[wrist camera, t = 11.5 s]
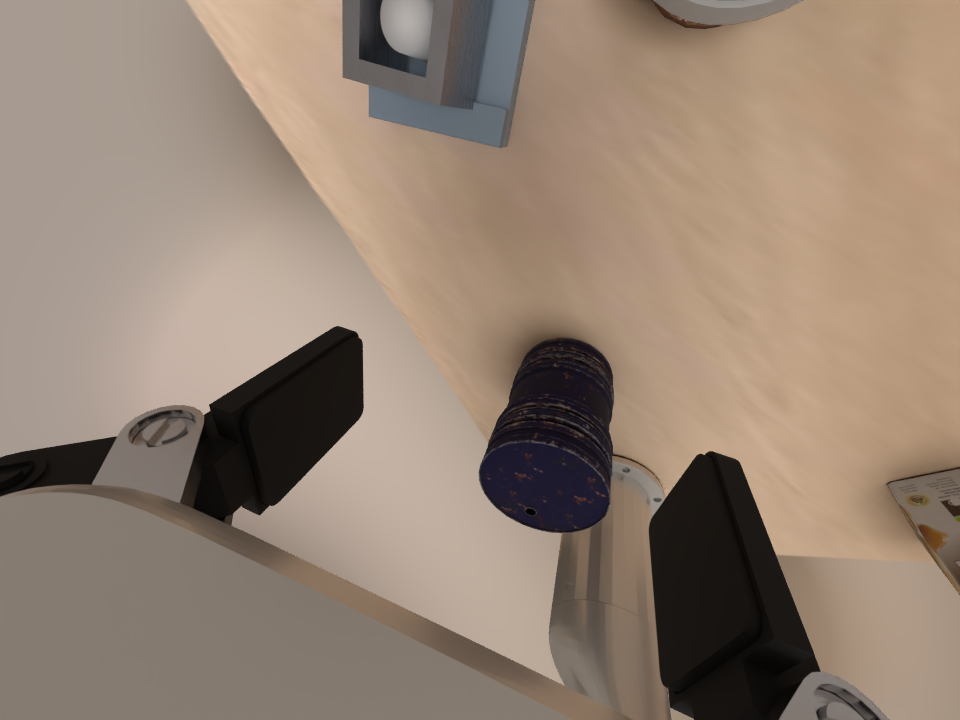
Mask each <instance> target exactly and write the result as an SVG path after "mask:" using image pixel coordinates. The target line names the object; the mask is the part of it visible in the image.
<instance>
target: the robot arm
mask: <svg viewBox="0 0 960 720" xmlns="http://www.w3.org/2000/svg"><path fill="white" fill-rule="evenodd" d="M209 406H210V410H211V411H210V412H208V413H206V414H205V415H203V414H202V412H201V411H200V410H198V409H196V408H194V407H190V406H185V405H174V406H167V407H161V408H157V409H155V410H151V411H148V412H146V413H144V414H142V415H140V416H138V417H136V418H134V419H133V420H132V421H130V422H129V423H128V424H126V425H125V427H124V428H123V429H122V430H121V431H120V433H119V435H118V436H117V437H111V438H105V439H98V440H92V441H86V442H80V443H74V444H68V445H61V446H55V447H49V448H43V449H37V450H30V451H24V452H19V453H15V454H11V455H6V456H4V457H1V458H0V720H671V713H670V708H673V709H674V710H677V711H679V712H681V713H683V714H685V715H687V716H689V717H691V718H694V720H889V719H888V718H887V717H886V715H885V714H884V713H883V712H882V711H881V710H880V709H879V708H878V707H877V706H876V705H875V704H874V703H873V702H872V701H871V700H870V699H869V698H868V697H866V696H865V695H864V694H863V693H862V692H860V691H859V690H858V689H857V688H856V687H854V686H853V685H851V684H849V683H848V682H846V681H844V680H843V679H841V678H840V677H838V676H835V675H832V674H829V673H826V672H821V671H820V669H819V666H818V663H817V661H816V658H815V655H814V652H813V649H812V647H811V644H810V642H809V639H808V637H807V634H806V631H805V629H804V626H803V624H802V621H801V619H800V616H799V613H798V611H797V608H796V606H795V603H794V601H793V598H792V596H791V593H790V590H789V588H788V585H787V583H786V580H785V577H784V575H783V572H782V570H781V567H780V565H779V562H778V559H777V557H776V554H775V552H774V549H773V547H772V544H771V541H770V539H769V536H768V534H767V531H766V528H765V526H764V523H763V521H762V518H761V516H760V513H759V510H758V508H757V505H756V503H755V500H754V498H753V495H752V492H751V490H750V487H749V485H748V482H747V480H746V477H745V474H744V472H743V469H742V467H741V464H740V463H739V461H738V460H736V459H733V458H730V457H727V456H724V455H722V454H719V453H716V452H713V451H709V452H708V453H706V454H705V455H703V454H699V455H697V456H696V457H695V459H694V460H693V461H692V463H691V464H690V465H689V467H688V468H687V470H686V471H685V472H684V474H683V475H682V477H681V478H680V479H679V481H678V482H677V483H676V485H675V486H674V488H673V489H672V490H671V492H670V493H669V494H668V496H667V497H666V499H665V496H664V491H663V488H662V486H661V484H660V482H659V481H658V479H657V478H656V477H655V476H654V475H653V474H652V473H651V472H650V471H648V470H647V469H646V468H644V467H642V466H641V465H639V464H637V463H635V462H633V461H630V460H628V459H624V458H620V457H617V456H612V478H611V487H610V490H611V498H610V507H609V511H608V512H607V514H606V516H605V517H604V518H603V519H602V521H601V522H599V523H598V524H596V525H595V526H593V527H591V528H589V529H586V530H583V531H579V532H573V533H562V536H561V545H560V551H559V559H558V566H557V573H556V580H555V588H554V595H553V602H552V609H551V618H550V625H549V643H550V649H551V654H552V657H553V660H554V663H555V666H556V668H557V670H558V673H559V675H560V677H561V679H562V681H563V683H564V685H565V686H564V685H562V684H560V683H558V682H556V681H554V680H552V679H549V678H547V677H545V676H543V675H541V674H539V673H537V672H535V671H533V670H531V669H529V668H527V667H525V666H523V665H521V664H519V663H516V662H515V661H513V660H510V659H508V658H506V657H504V656H502V655H500V654H498V653H496V652H494V651H492V650H490V649H488V648H486V647H484V646H482V645H480V644H478V643H476V642H473V641H472V640H469V639H467V638H465V637H463V636H461V635H459V634H457V633H455V632H453V631H451V630H449V629H447V628H444V627H443V626H441V625H438V624H436V623H434V622H432V621H430V620H428V619H426V618H424V617H422V616H420V615H418V614H416V613H414V612H412V611H409V610H407V609H405V608H403V607H401V606H399V605H397V604H395V603H393V602H391V601H389V600H386V599H384V598H382V597H380V596H378V595H376V594H374V593H372V592H370V591H368V590H366V589H364V588H362V587H360V586H357V585H355V584H353V583H351V582H349V581H347V580H345V579H343V578H341V577H339V576H337V575H334V574H332V573H330V572H328V571H326V570H324V569H322V568H320V567H318V566H316V565H313V564H311V563H309V562H307V561H305V560H303V559H301V558H299V557H297V556H295V555H292V554H290V553H288V552H286V551H284V550H282V549H279V548H278V547H275V546H273V545H271V544H269V543H267V542H265V541H263V540H261V539H259V538H257V537H255V536H252V535H250V534H248V533H246V532H244V531H242V530H239V529H237V528H235V527H233V526H231V525H232V519H233V513H234V512H235V511H236V510H237V509H238V508H239V507H240V506H242V507H243V508H245V509H247V510H249V511H251V512H253V513H255V514H258V515H261V514H262V513H263V511H265V509H266V508H268V507H269V505H270V506H274V505H276V504H277V503H278V502H279V501H281V499H282V498H283V497H284V496H285V495H286V494H287V493H288V492H289V491H290V490H291V489H292V488H293V487H294V486H295V485H296V484H297V483H298V482H299V481H300V480H301V479H302V478H303V477H304V476H305V475H306V473H307V472H308V471H309V470H310V469H311V468H312V467H313V466H314V465H315V464H316V463H317V462H318V461H319V460H320V459H321V458H322V457H323V456H324V455H325V454H326V453H327V452H328V451H329V450H330V449H331V448H332V447H333V446H334V445H335V444H336V443H337V442H338V440H339V439H340V438H341V437H342V436H343V435H344V434H345V433H346V432H347V431H348V430H349V429H350V428H351V427H352V426H353V425H354V424H355V423H356V422H357V421H358V420H359V418H360V417H361V415H362V413H363V408H364V404H363V344H362V340H361V339H360V338H359V337H358V334H357V333H356V332H355V331H352V330H349V329H346V328H343V327H339V326H336V327H334V328H332V329H330V330H329V331H327V332H325V333H324V334H322V335H321V336H319V337H317V338H316V339H314V340H313V341H311V342H309V343H308V344H306V345H305V346H303V347H301V348H300V349H298V350H297V351H295V352H293V353H292V354H290V355H288V356H287V357H285V358H284V359H282V360H281V361H279V362H277V363H276V364H274V365H272V366H271V367H269V368H268V369H266V370H264V371H263V372H261V373H259V374H258V375H256V376H255V377H253V378H251V379H250V380H248V381H247V382H245V383H243V384H242V385H240V386H238V387H237V388H235V389H234V390H232V391H231V392H229V393H227V394H226V395H224V396H222V397H221V398H220V399H218V400H216V401H214V402H213V403H211V404H210V405H209ZM668 692H669V697H668ZM669 703H670V705H669Z"/></svg>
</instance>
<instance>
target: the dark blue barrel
mask: <svg viewBox="0 0 960 720" xmlns="http://www.w3.org/2000/svg"><path fill="white" fill-rule="evenodd" d="M613 404H614V390H613V375H612V370H611V367H610V365H609V363H608V361H607V360H606V358H605V357H604V356H603V355H602V354H601V353H600V352H599V351H598V350H597V349H595V348H594V347H592V346H591V345H589V344H587V343H585V342H582V341H579V340H575V339H569V338H556V339H550V340H547V341H544V342H542V343H540V344H538V345H536V346H535V347H533V348H532V349H531V350H530V351H529V352H528V353H527V355H526V356H525V358H524V360H523V362H522V365H521V367H520V368H519V370H518V372H517V374H516V376H515V379H514V381H513V386H512V389H511V392H510V396H509V403H508V406H507V408H506V409H505V410H504V411H503V413H502V414H501V415H500V417H499V418H498V420H497V423H496V426H495V428H494V430H493V433H492V435H491V437H490V440H489V443H488V448H487V450H486V453H485V455H484V458H483V460H482V463H481V465H480V469H479V481H480V484H481V487H482V489H483V491H484V493H485V495H486V496H487V498H488V499H489V500H490V501H491V503H492V504H493V505H494V506H495V507H496V508H497V509H498V510H500V511H501V512H502V513H504V514H505V515H506V516H508V517H509V518H511V519H513V520H515V521H516V522H519V523H521V524H523V525H525V526H528V527H531V528H534V529H537V530H541V531H546V532H553V533H573V532H579V531H583V530H586V529H589V528H591V527H593V526H595V525H596V524H598V523H599V522H601V521H602V519H603V518H604V517H605V516H606V514H607V512H608V511H609V507H610V498H611V490H610V487H611V478H612V455H613V445H612V441H611V437H610V433H609V424H610V422H611V418H612V409H613Z"/></svg>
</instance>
